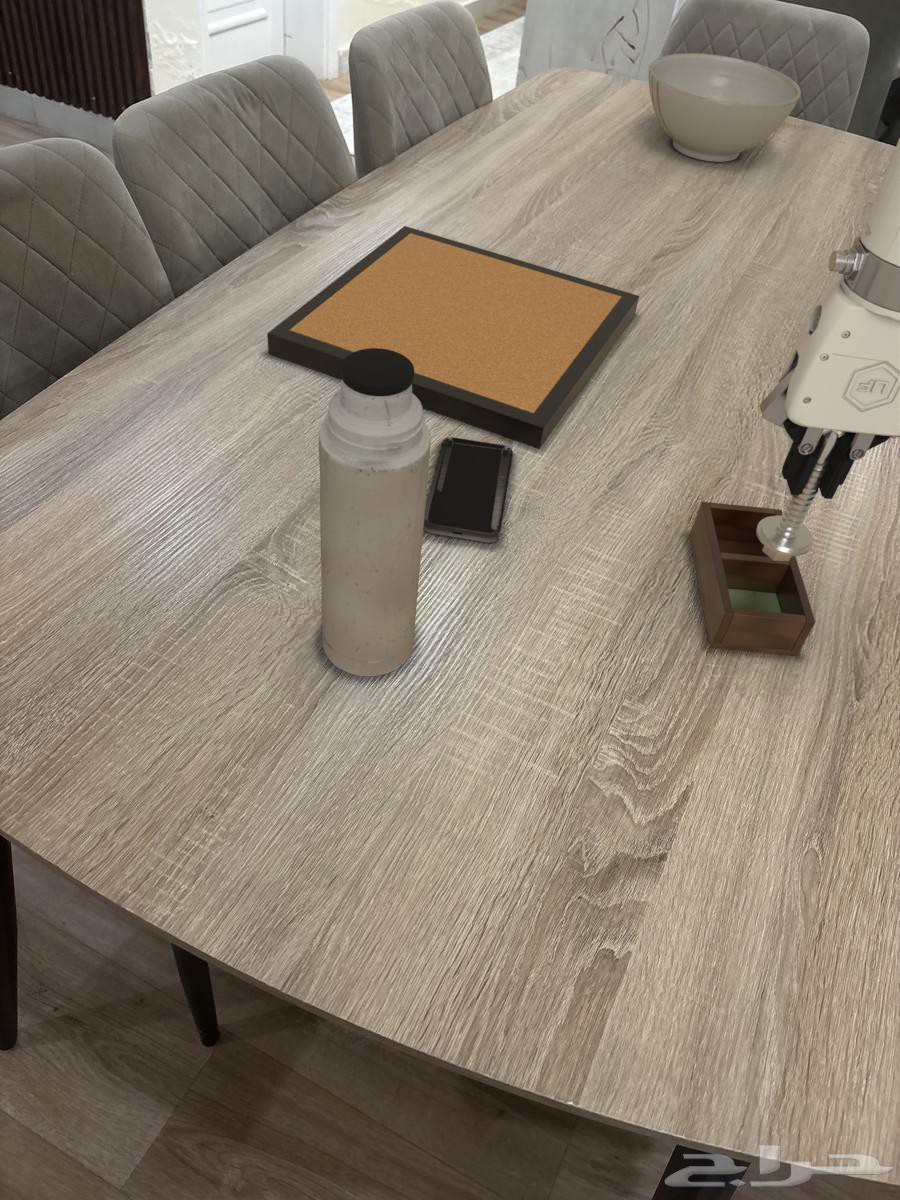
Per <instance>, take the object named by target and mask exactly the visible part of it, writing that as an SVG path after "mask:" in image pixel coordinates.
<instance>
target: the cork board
mask: <svg viewBox="0 0 900 1200" xmlns="http://www.w3.org/2000/svg"><path fill="white" fill-rule="evenodd" d="M639 299H640V295H638V294H634V293H630V292H628V291H624V290H621V289H617V288H614V287H611V286H608V285H604V284H601V283H597V282H595V281H591V280H588V279H584V278H581V277H578V276H574V275H570V274H568V273H564V272H560V271H557V270H554V269H550V268H548V267H544V266H540V265H537V264H534V263H530V262H527V261H523V260H520V259H517V258H513V257H511V256H508V255H503V254H500V253H497V252H493V251H491V250H487V249H483V248H480V247H477V246H473V245H470V244H467V243H463V242H460V241H458V240H454V239H450V238H446V237H443V236H440V235H437V234H433V233H431V232H426V231H423V230H420V229H417V228H413V227H409V226H406V225H404V226H403V227H401V228H400V229H399V230H397V231H396V232H395V233H394V234H393V235H391V236H389V238H387V239H385V241H383V242H382V243H381V244H379V245H378V246H377V247H376V248H374V249H373V250H372V251H371V252H370V253H368V254H367V255H366V256H364V257H363V258H362V259H361V260H359V261H358V262H357V263H355V264H354V265H353V266H352V267H350V268H349V269H348V270H346V271H344V273H342V275H340V276H339V277H337V278H336V279H335V280H334V281H332V282H330V284H329V285H328V286H326V287H325V288H324V289H322V290H321V291H319V292H318V293H317V294H316V295H314V296H313V297H312V298H310V299H309V300H308V301H306V302H305V303H304V304H303V305H302V306H300V307H299V308H298V309H297V310H295V311H294V312H293V313H292V314H290V315H289V316H288V317H286V318H285V319H284V320H282V321H281V322H279V323H278V324H277V325H276V326H275V327H274V328H272V329H271V330H270V331H269V332H267V334H266V335H267V349H268V351H267V352H268V355H271V356H274V357H276V358H279V359H282V360H285V361H288V362H291V363H293V364H296V365H299V366H301V367H304V368H308V369H311V370H313V371H316V372H319V373H321V374H324V375H328V376H330V377H333V378H337V379H339V380H342V377H341V364H342V362H343V360H344V359H345V358H346V357H347V356H348V355H349V354H351V353H353V352H355V351H359V350H362V349H369V348H381V349H388V350H392V351H395V352H398V353H400V354H402V355H404V356H405V357H407V358H408V359H409V360H410V361H411V362H412V364H413V366H414V380H413V383H412V393H413V394H414V395H415V396H416V397H417V398H418V400H419V401H420V402H421V405H422V408H423V410H424V409H425V410H427V411H430V412H434V413H436V414H439V415H442V416H444V417H448V418H450V419H453V420H456V421H459V422H461V423H464V424H466V425H467V424H468V425H470V426H472V427H476V428H479V429H481V430H484V431H486V432H490V433H493V434H496V435H499V436H501V437H505V438H507V439H510V440H512V441H516V442H518V443H522V444H524V445H527V446H530V447H533V448H535V449H539V450H540V449H541V448H542V446H543V444H545V442H546V441H547V439H548V438H549V436H550V435H551V434H552V432H553V431H554V430H555V428H556V427H557V425H558V424H559V422H561V420H562V418H563V417H564V415H565V414H566V413H567V411H568V410H569V408H570V407H571V405H572V404H573V403H574V401H575V400H576V398H577V397H578V396H579V395H580V393H581V391H582V390H583V388H584V387H585V386H586V384H587V383H588V382H589V380H590V379H591V378H592V376H593V375H594V373H595V372H596V370H597V369H598V368H599V366H600V365H601V363H602V362H603V360H605V358H606V356H607V355H608V353H609V352H610V351H611V350H612V348H613V346H614V345H615V344H616V342H617V341H618V339H619V338H620V336H621V335H622V334H623V333H624V331H625V329H627V327H628V325H629V324H630V323H631V321H632V319H633V318H634V317H635V316H636V311H637V308H638V303H639Z"/></svg>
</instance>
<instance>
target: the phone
mask: <svg viewBox="0 0 900 1200" xmlns="http://www.w3.org/2000/svg"><path fill="white" fill-rule="evenodd" d="M513 455H514V451H513V448H512V447H509V446H507V445H504V444H497V443H491V442H486V441H478V440H472V439H468V438H467V439H466V438H460V437H453V436H449V437H446V438H444V439H443V440H442V442H441V445H440V449H439V452H438V455H437V458H436V459H437V460H436V463H435V467H434V473H433V476H432V480H431V485H430V488H429V492H428V496H427V499H426V503H425V514H424V526H423V532H425V533H427V534H430V535H433V536H439V537H446V538H452V539H458V540H463V541H464V540H465V541H471V542H477V543H482V544H494V543H496V542H498V540H499V539H500V535H501V529H502V522H503V518H504V510H505V504H506V498H507V491H508V486H509V480H510V474H511V468H512V461H513Z"/></svg>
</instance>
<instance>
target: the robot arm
mask: <svg viewBox="0 0 900 1200" xmlns="http://www.w3.org/2000/svg"><path fill="white" fill-rule="evenodd" d="M827 266H828V271H830V272H837V273H838V274H839V275H835V276H834V277H833V278H832V279H831V281H830V282H829V283H828V285H827V287H826V288H825V289H824V291H823V293H822V294H821V295H820V296H819V299H818V300H817V302H816V303H815V304H814V306H813V308H812V310H811V312H810V313H809V315H808V317H807V319H806V321H805V322H804V324H803V326H802V328H801V329H800V331H799V334H798V335H797V338H796V340H795V342H794V344H793V345H792V348H791V349H790V350H791V351H790V353H789V354H788V357H787V359H786V362H785V363H784V366H783V369H782V371H781V374H780V376H779V377H780V378H779V381H778V383H777V385H776V386H775V387H774V388H773V389H772V390H771V391H770V393H768V395H767V396H766V397H765V398H764V399H763V400H762V401H761V402H760V404H759V410H760V413H761V415H762V418H763V419H764V420H766V421H768V422H770V423H772V424H774V425H775V426H777V427H780V428H783V429H784V430H785V432H786V434H788V436H789V438H790V440H791V441H792V443H791V446H790V448H789V450H788V453H787V455H786V457H785V459H784V461H783V464H782V468H781V474H782V478H783V480H786V483H787V486H788V489H789V492H790V496H791V495H795V496H799V494H802V492H803V490H804V487H805V485H806V483H807V481H808V479H809V476H810V474H811V472H812V470H813V468H814V466H815V463H816V461H817V456H816V453H815V448H816V445H817V443H818V441H819V439H820V437H821V435H822V433H823V432H824V431H828V430H834V431H835V432H841V434H840V436H839V437H838V440H837V443H836V445H835V447H834V449H833V451H832V453H831V456H830V458H831V462H830V464H829V469H828V470H827V471H826V475H825V476H824V479H823V481H822V482H821V486H820V487H819V488H818V490H819V491H820V494H821V496H822V498H824V499H826V500H832V499H833V498H834V496H835V494H836V492H837V490H838V488H839V486H842V485H843V484H844V483H845V481H846V479H847V477H848V475H849V473H850V471H851V469H852V467H853V465H854V463H855V462H856V461H860V460H862V459H863V458H864V457H865V456H866V454H867V452H868V451H869V450H872V449H873V448H875V447H877V446H879V445H881V444H883V443H885V442H887V441H888V440H889V439H896V438H897V439H898V438H900V137H899V138H898V141H897V143H896V146H895V147H894V151H893V154H892V156H891V157H890V160H889V163H888V166H887V168H886V170H885V172H884V175H883V178H882V179H881V182H880V185H879V187H878V190H877V192H876V195H875V197H874V200H873V201H872V204H871V206H870V209H869V212H868V214H867V217H866V218H865V221H864V224H863V226H862V229H861V231H860V233H859V236H855V238H854V240H853V243H852V245H851V247H850V248H849V249H844V250H833V251H832V252H831V254H830V256H829V259H828V263H827Z"/></svg>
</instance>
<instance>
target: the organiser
mask: <svg viewBox="0 0 900 1200" xmlns="http://www.w3.org/2000/svg"><path fill="white" fill-rule="evenodd" d="M782 513H783V510H782V509H778V508H769V507H761V506H750V505H740V504H739V505H738V504H730V503H720V502H712V501H711V502H709V501H701V503H700V504H699V507H698V511H697V513H696V516H695V519H694V522H693V525H692V527H691V530H690V532H689V541H690V542H689V543H690V547H691V551H692V558H693V563H694V567H695V573H696V578H697V579H696V580H697V584H698V589H699V594H700V600H701V606H702V610H703V615H704V622H705V626H706V632H707V637H708V642H709V648H711V649H720V650H721V649H722V650H732V651H741V652H742V651H743V652H751V653H752V652H753V653H760V654H771V655H782V656H783V655H784V656H793V657H798V656H799V655H800V652H801V651H802V648H803V646H804V645H805V643H806V641H807V639H808V637H809V636H810V633H811V631H812V630H813V628H814V626H815V624H816V619H815V617H814V613H813V609H812V606H811V604H810V600H809V599H810V598H809V597H808V593H807V590H806V586H805V583H804V580H803V576H802V573H801V569H800V567H799V563H798V560H797V556H791V558H790V560H789V562H788V561H773V560H772V559H771V558H770V557H769V556H767V555H766V554H765V553H764V552H763V551H762V550H763V547H764V545H763V544H762V543H761V542H760V540H759V539H758V537H757V534H756V529H757V526H758V523H759V522H760V521H761V520H762V519H764V518H766V517H770V516H782Z"/></svg>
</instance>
